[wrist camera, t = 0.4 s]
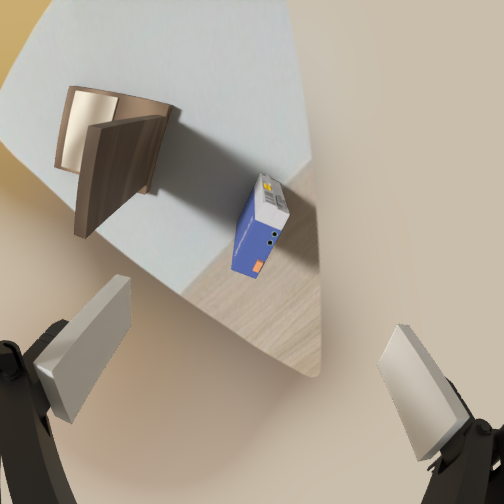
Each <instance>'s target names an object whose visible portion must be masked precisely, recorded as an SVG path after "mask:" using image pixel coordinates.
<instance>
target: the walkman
mask: <svg viewBox="0 0 504 504" xmlns="http://www.w3.org/2000/svg"><path fill="white" fill-rule="evenodd" d="M289 216H290V213H289V210H288V207H287V204H286V201H285V198H284V195H283V192H282V189H281V186H280V183H279V182H278V181H276V180H273V179H271V177H270V176H268V175H266V174H263V173H260V175H259V177H258V179H257V181H256V184H255V186H254V188H253V190H252V192H251V194H250V196H249V199H248V201H247V203H246V205H245V207H244V209H243V212H242V214H241V216H240V218H239V220H238V223H237V227H236V235H235V243H234V250H233V258H232V267H231V270H234V271H236V272H239V273H242V274H244V275H247V276H250V277H252V278H255V279H256V278H257V276H258V274H259V272H260V271H261V269H262V267H263V265H264V263H265V261H266V259H267V258H268V256H269V254H270V252H271V250H272V248H273V246H274V245H275V243H276V241H277V239H278V237H279V235H280V233H281V231H282V229H283V227H284V225H285V223H286V221H287V219H288V218H289Z"/></svg>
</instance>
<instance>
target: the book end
mask: <svg viewBox="0 0 504 504" xmlns="http://www.w3.org/2000/svg"><path fill="white" fill-rule="evenodd" d="M172 106H173V105H170V104H166V103H162V102H158V101H153V100H149V99H145V98H140V97H136V96H131V95H126V94H121V93H116V92H110V91H104V90H98V89H92V88H86V87H79V86H69V89H68V93H67V97H66V102H65V106H64V111H63V115H62V120H61V125H60V131H59V137H58V143H57V150H56V157H55V165H54V167H55V168H59V169H62V170H65V171H69V172H72V173H75V174H79V182H78V190H77V200H76V211H75V224H74V235H77V236H79V237H82V238H85V239H86V238H87V237H88V236H89V235H90V234H91V233H92V232H93V231H94V230H95V229H96V228H97V227H99V226H100V225H101V224H102V223H103V222H104V221H105V220H106V219H107V218H108V217H109V216H111V215H112V214H113V213H114V212H115V211H116V210H117V209H118V208H120V207H121V206H122V205H123V204H124V203H125V202H126V201H128V200H129V199H130V198H131V197H132V196H133V195H135V194H136V193H137V192H138V193H141V194H144V195H145V194H146V193H147V192H148V191H149V187H150V183H151V179H152V175H153V171H154V167H155V163H156V159H157V155H158V152H159V148H160V145H161V141H162V138H163V134H164V131H165V128H166V124H167V121H168V118H169V115H170V112H171V109H172Z"/></svg>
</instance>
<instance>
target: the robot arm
mask: <svg viewBox="0 0 504 504" xmlns="http://www.w3.org/2000/svg"><path fill="white" fill-rule="evenodd" d="M130 328H131V278H129V277H125V276H121V275H117V274H116V275H115V276H114V277H113V278H112V279H111V280H110V281H109V282H108V283H107V284H106V285H105V286H104V287H103V288H102V289H101V290H100V291H99V292H98V293H97V294H96V295H95V296H94V297H93V298H92V299H91V300H90V301H89V302H88V303H87V304H86V305H85V306H84V307H83V308H82V309H81V311H80V312H78V314H77V315H76V316H75V317H74V318H73V319H72V320H71V321H70V322H69V321H66V320H63V319H62V320H60V321H58V322H56V323H54V324H52V325H51V326H50V327H49V328H48V329H47V330H46V331H45V333H43V334H42V335H41V336H40V337H39V339H37V340H36V341H35V343H34V344H33V345H32V346H31V347H30V348H29V349H28V350H27V351H26V352H25V353H24V355H23V356H22V354H21V351H20V348H19V346H18V345H17V344H16V343H14V342H12V341H6V340H3V341H0V466H1V456H2V462H3V467H4V471H5V476H6V480H7V484H8V488H9V492H10V496H11V499H12V502H13V504H77V503H76V500H75V498H74V496H73V493H72V491H71V488H70V486H69V483H68V481H67V478H66V475H65V473H64V470H63V467H62V464H61V461H60V458H59V455H58V452H57V449H56V445H55V442H54V438H53V435H52V431H51V427H50V423H49V419H48V416H47V414H46V413H47V411H48V410H49V408H50V407H51V409H52V411H53V413H54V415H55V416H56V417H58V418H60V419H62V420H64V421H66V422H69V423H71V424H72V423H73V421H74V419H75V418H76V416H77V414H78V412H79V410H80V409H81V407H82V405H83V404H84V402H85V400H86V398H87V397H88V395H89V393H90V392H91V390H92V388H93V387H94V385H95V383H96V381H97V380H98V378H99V377H100V375H101V373H102V371H103V370H104V368H105V367H106V365H107V363H108V362H109V360H110V359H111V357H112V356H113V354H114V352H115V351H116V349H117V348H118V346H119V345H120V343H121V341H122V340H123V338H124V337H125V335H126V334H127V332H128V331H129V329H130ZM377 366H378V369H379V371H380V373H381V375H382V377H383V379H384V382H385V384H386V386H387V388H388V391H389V393H390V395H391V397H392V400H393V402H394V404H395V406H396V409H397V411H398V413H399V416H400V418H401V421H402V423H403V425H404V428H405V430H406V433H407V435H408V437H409V440H410V443H411V445H412V447H413V450H414V453H415V455H416V458H417V461H423V460H427V459H431V458H432V457H433V456H434V455H435V454H436V453H437V452H438V451H439V450H440V452H441V456H440V457H439V458H438V459H437V460H436V461H435V462H434V463H433V464H431V465H430V466H429V467H428V469H427V470H428V471H429V470H430V469H431V468H433V467H434V466H435V468H434V470H433V471H432V473H433V474H432V477H431V479H430V482H429V485H428V487H427V490H426V493H425V495H424V497H423V500H422V503H421V504H504V425H503V426H502V427H501V428H500V429H492V427H491V425H490V424H489V423H488V422H487V421H485V420H483V419H476V420H475V418H474V417H473V415H472V413H471V412H470V410H469V409H468V407H467V405H466V404H465V402H464V400H463V399H461V396H460V394H459V393H457V389H456V388H455V386H454V385H453V383H451V381H449V380H448V379H447V378H446V377H445V376H444V375H443V373H442V372H441V370H440V369H439V367H438V366H437V364H436V363H435V361H434V360H433V358H432V357H431V356H430V354H429V353H428V351H427V350H426V348H425V347H424V346H423V344H422V343H421V341H420V340H419V339H418V337H417V336H416V334H415V333H414V332H413V330H412V329H411V328H410V326H409V325H403V324H397V326H396V328H395V330H394V332H393V334H392V336H391V339H390V340H389V342H388V344H387V346H386V348H385V350H384V352H383V354H382V356H381V358H380V360H379V362H378V364H377ZM499 460H500V462H501V465H500V466H499V467H498V468H496V469H495V470H494V471H493V466H494V465H495V464H496V463H497V462H498V461H499ZM0 504H1V491H0Z"/></svg>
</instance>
